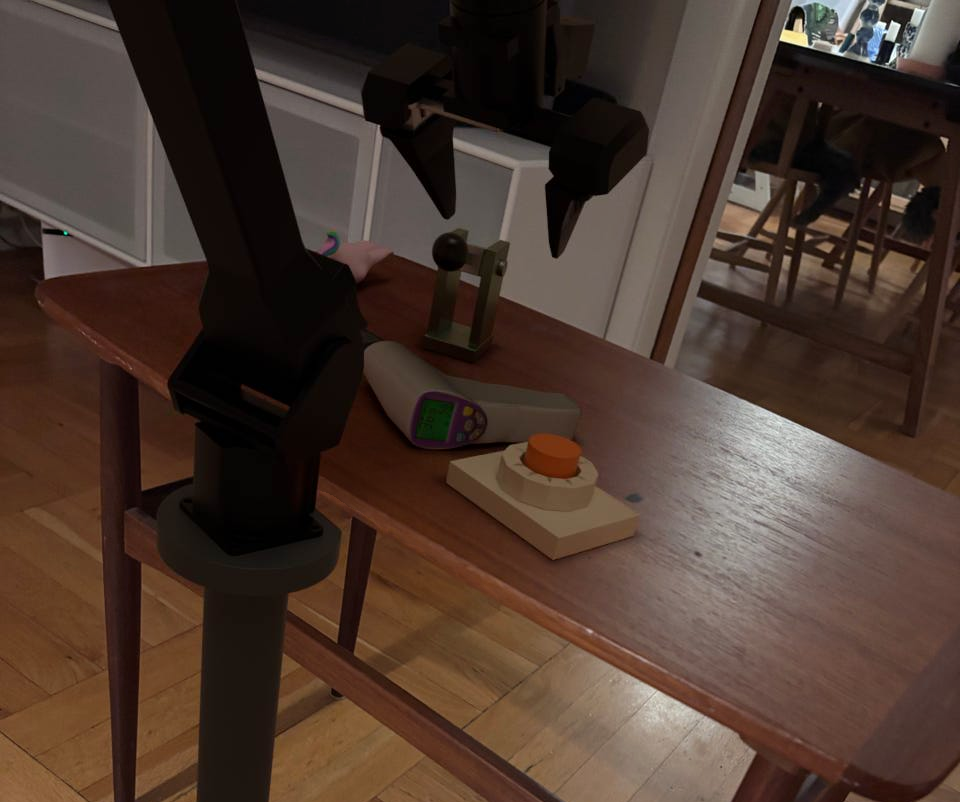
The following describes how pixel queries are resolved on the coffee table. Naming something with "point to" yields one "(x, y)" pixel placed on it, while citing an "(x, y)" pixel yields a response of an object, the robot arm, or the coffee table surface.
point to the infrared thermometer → (460, 403)
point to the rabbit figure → (354, 254)
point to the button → (552, 456)
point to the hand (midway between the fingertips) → (502, 235)
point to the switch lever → (458, 254)
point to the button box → (543, 502)
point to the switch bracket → (479, 337)
